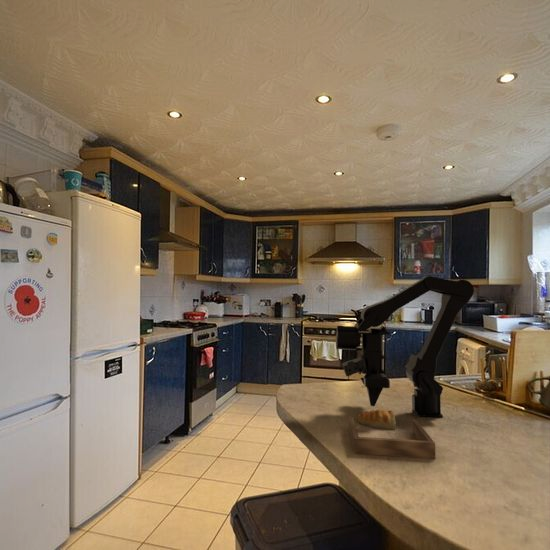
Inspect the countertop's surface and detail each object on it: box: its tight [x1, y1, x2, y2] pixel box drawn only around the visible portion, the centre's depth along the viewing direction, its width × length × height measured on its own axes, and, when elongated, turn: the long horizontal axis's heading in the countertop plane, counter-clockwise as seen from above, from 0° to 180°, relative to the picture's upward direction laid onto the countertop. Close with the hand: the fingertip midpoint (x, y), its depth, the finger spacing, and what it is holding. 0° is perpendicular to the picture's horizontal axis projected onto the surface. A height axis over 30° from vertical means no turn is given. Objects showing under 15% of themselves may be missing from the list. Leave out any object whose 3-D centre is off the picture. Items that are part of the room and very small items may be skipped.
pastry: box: [357, 409, 397, 430], centre depth 91 cm, size 9×7×4 cm
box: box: [348, 416, 436, 459], centre depth 79 cm, size 16×14×3 cm
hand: (372, 405), depth 101 cm, fingers closed
